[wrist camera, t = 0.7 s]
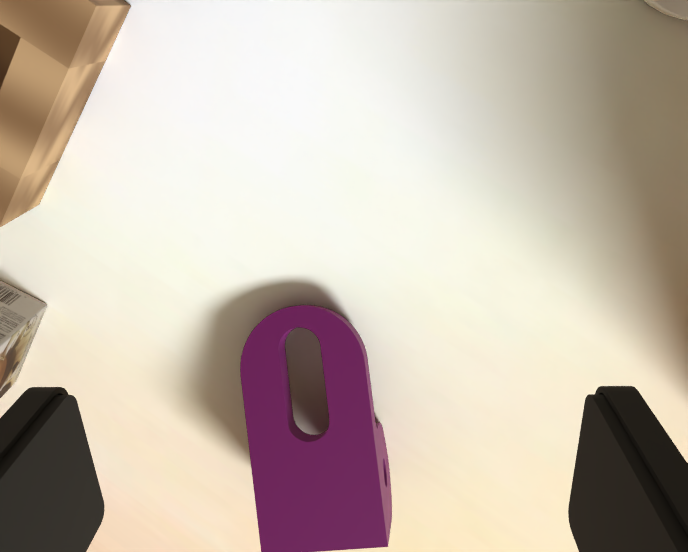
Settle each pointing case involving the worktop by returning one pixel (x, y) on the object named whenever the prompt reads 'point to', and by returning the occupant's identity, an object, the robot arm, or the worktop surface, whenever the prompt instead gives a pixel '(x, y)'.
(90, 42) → the well block
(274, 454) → the mounting bracket
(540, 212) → the worktop surface
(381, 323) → the worktop surface
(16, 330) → the coffee box
